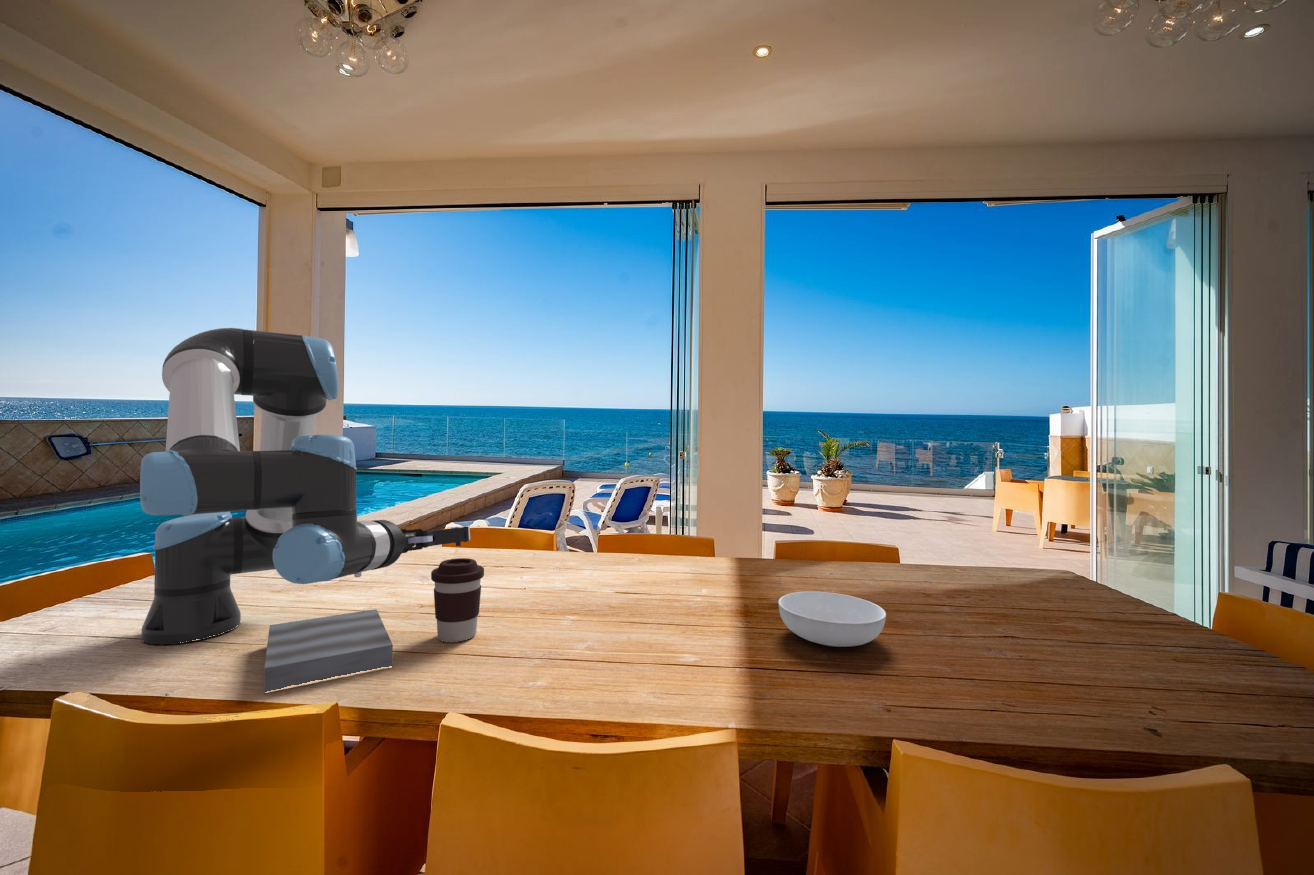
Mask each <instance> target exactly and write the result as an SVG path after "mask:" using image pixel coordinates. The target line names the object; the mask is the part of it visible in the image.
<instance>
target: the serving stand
mask: <svg viewBox="0 0 1314 875" xmlns="http://www.w3.org/2000/svg"><path fill="white" fill-rule="evenodd" d="M265 651H266V654H265V662H264V674H263V676H264V678H263V681H264V683H263V684H264V686H263V688H264V690H263V691H264V692H267V691H271V690H276V689H281V688H284V687H287V686H291V685H299V684H302V683H307V682H310V681H315V680H323V679H327V678H331V677H335V676H341V675H347V674H351V673H356V672H360V671H367V670H372V669H377V668H381V667H389V666H392V667H393V651H394V644H393V642H392V640H391V638H390V635H389V633H388V631H387V629H386V626H385V625H384V622H383V620H382V618H381V615H380V614H379V611H378V609H377V608H376V609H369V610H362V611H356V612H350V613H342V614H336V615H329V616H323V617H316V618H308V619H301V620H296V621H295V620H294V621H289V622H282V623H276V624H270V625H269V629H268V636H267V645H266V650H265ZM264 692H263V693H264Z"/></svg>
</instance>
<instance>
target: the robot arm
mask: <svg viewBox="0 0 1314 875" xmlns="http://www.w3.org/2000/svg"><path fill="white" fill-rule="evenodd" d="M335 355H336V354H335V350H334V348H333V346H332V344H331V342H330V341H329V340H327V339H325V338H322V337H321V338H320V337H314V336H308V335H305V334H301V335H299V334H290V333H283V332H281V333H280V332H273V331H272V332H271V331H270V332H269V331H263V330H254V329H243V328H236V327H221V328H215V329H209V330H206V331H201V332H199V333H197V334H194V335H192V336H189V337H188V338H185V339H184V340H182V341H180V342H179V343H178V344H177V345H175V346H174V347H173V348H172V349H171V350H170V351H169V353H168V354H167V356H166V357H165V359H164V360H163V361H164V362H163V363H162V368H161V369H162V370H161V378H162V380H161V381H162V382H163V385H164V387H165V389H167V391H168V392H169V395H168V409H167V411H168V413H167V424H166V425H167V426H166V427H167V428H166V429H167V430H166V440H165V451H153V452H150V453H147V454H145V455H144V456H143V457H142V458H141V462H140V472H139V473H140V474H139V475H140V478H139V484H140V485H139V487H140V488H139V494H140V498H139V499H140V508H141V509H142V511H143V512H144V513H146V514H147V515H150V516H170V515H171V516H174V515H175V516H179V515H181V516H180V517H176V518H172V519H170V520H166V521H164V522H162V523H161V524H159V525H158V527H157V528H156V530H155V537H154V545H153V546H152V548H153V550H154V580H153V581H154V591H153V592H154V593H153V594H154V597H153V600H152V602H151V605H150V608H149V610H148V612H147V615H146V617H145V620H144V622H143V623H142V624H143V625H142V627H141V639H142V640H143V641H144V642H146V643H145V644H147V643H149V644H148V645H153V644H170V645H175V644H174V643H180V642H181V643H180V644H183V643H182V642H186V641H187V643H189V642H188V641H192V640H196V639H203V638H207V637H209V636H213V635H218V634H221V633H223V632H226V631H228V630H231V629H233V628H235V627H236V626H237V625H239V624H240V625H241V623H240V621H242V620H241V618H242V617H241V610H240V608H239V606H238V603H237V600H236V599H235V596H234V593H233V591H232V589H231V575H237V574H247V573H254V572H255V573H257V572H262V571H272V570H273V571H274V570H275V571H276V572H277V573H278V574H279V576H280V577H281V578H283V579H284V580H286V581H287V582H290V583H292V584H296V585H297V584H298V585H307V584H314V583H321V582H329V581H332V580H335V579H339V578H343V577H347V576H351V575H354V576H353V577H354V578H360V577H362V572H363V573H364V572H367V571H375V570H379V569H383V568H387V567H389V566H391V565H393V564H394V563H396V562H397V561H398V560H399V558H401V555H402V554H407V553H408V552H411V551H419V550H422V549H425V548H429V547H434V546H440V545H448V544H455V547H461V546H462V543H468V542H469V541H471V533H470V532H471V531H470V530H471V529H470V525H462V526H455V527H453V526H452V527H450V528H446V529H435V530H423V529H422V528H414V529H406V528H402V529H401V528H400V527H399V526H398V525H397V524H396V523H394V522H392V521H390V520H387V519H377V520H375V519H374V520H358V514H357V513H358V512H357V511H358V510H357V471H358V468H357V464H356V462H357V461H356V451H355V445H354V442H353V441H352V440H351V439H350V438H349V437H347V436H345V435H339V434H322V433H321V434H314V430H315V423H316V422H315V421H316V416H317V415H319V414H321V413H322V412H323V411H324V410H325V409H326V407H327V406H326V405H327V400H328V401H333V400H335V399H337V398H338V395H339V375H338V368H337V366H338V365H337V360H336V356H335ZM235 395H237V396H239V395H241V396H252V402H253V404H254V405H255V407H257V408H258V409H259V410H260V411H261V423H260V424H261V425H260V438H259V450H252V451H251V450H249V451H248V450H245V451H244V450H243V451H242V450H240V449H241V447H240V439H239V431H238V430H239V429H238V422H237V413H236V412H237V410H236V402H235V400H236V399H235ZM239 511H243V512H244V511H246V513H245V516H241V517H233V514H232V513H231V512H239ZM240 625H239V626H240ZM235 629H236V628H235ZM233 630H234V629H233ZM231 631H232V630H231ZM221 635H222V634H221ZM218 636H219V635H218ZM207 639H208V638H207ZM142 640H141V641H142ZM203 640H204V639H203ZM144 642H143V643H144Z"/></svg>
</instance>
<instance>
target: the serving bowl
mask: <svg viewBox="0 0 1314 875" xmlns="http://www.w3.org/2000/svg"><path fill="white" fill-rule="evenodd" d="M777 604H778V609H779V611H778V612H779V614H780V618H781V620H782V622H783V623H784V625H785V626H786V627H787V629H789V630H790V631H791V632H792V633H793V634H795V635H797V636H798V637H800V638H802V639H804V640H806V641H809V642H812V643H816V644H818V645H821V646H826V647H831V648H834V647H835V648H836V647H837V648H842V647H844V648H846V647H847V648H848V647H856V646H862V645H866V644H867V643H870V642H871V641H873V640H875V639H876V638H877V637H878V636H879V635H880V634H881V632H882V631H883V629H884V626H885V623H886V619H887V612H886V611H885V609H883V608H882V607H881V606H879V605H877V604H876V603H875V602H871V601H869V600H867V599H863V598H860V597H858V596H857V597H856V596H852V595H847V594H843V593H837V592H830V591H829V592H828V591H814V590H813V591H811V590H809V591H798V592H791V593H787V594H784V595H783V596H781V597H780V598H779V599H778V603H777Z"/></svg>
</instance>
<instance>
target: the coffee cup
mask: <svg viewBox="0 0 1314 875" xmlns="http://www.w3.org/2000/svg"><path fill="white" fill-rule="evenodd" d="M484 576H485V568H484V567H483V566H482V565H479V564H478V563H477V561H476V560H475V559H474V558H468V557H467V558H466V557H465V558H462V557H460V558H451V559H450V558H449V559H445V560H442V561H441V562H440V563H439V565H438V566H437V567H436V568H434V569H432V571H430V579H431V581H432V582H434V589H433V597H434V598H433V599H434V601H433V602H434V616H435V617H434V618H435V619H436V627H437V628H436V632H437V638H438V640H439V639H440V640H439V641H441V640H443V641H447V642H446V643H457V642H456V641H462V642H464V641H463V640H466V639H469V640H471V639H473V638H474V637H475V636H476V634H477V629H478V617H479V615H480V604H481V596H482V595H481V594H482V593H481V592H482V585H481V579H483V578H484ZM473 636H474V637H473ZM470 638H471V639H470ZM443 641H442V642H443ZM466 641H467V640H466Z"/></svg>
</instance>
